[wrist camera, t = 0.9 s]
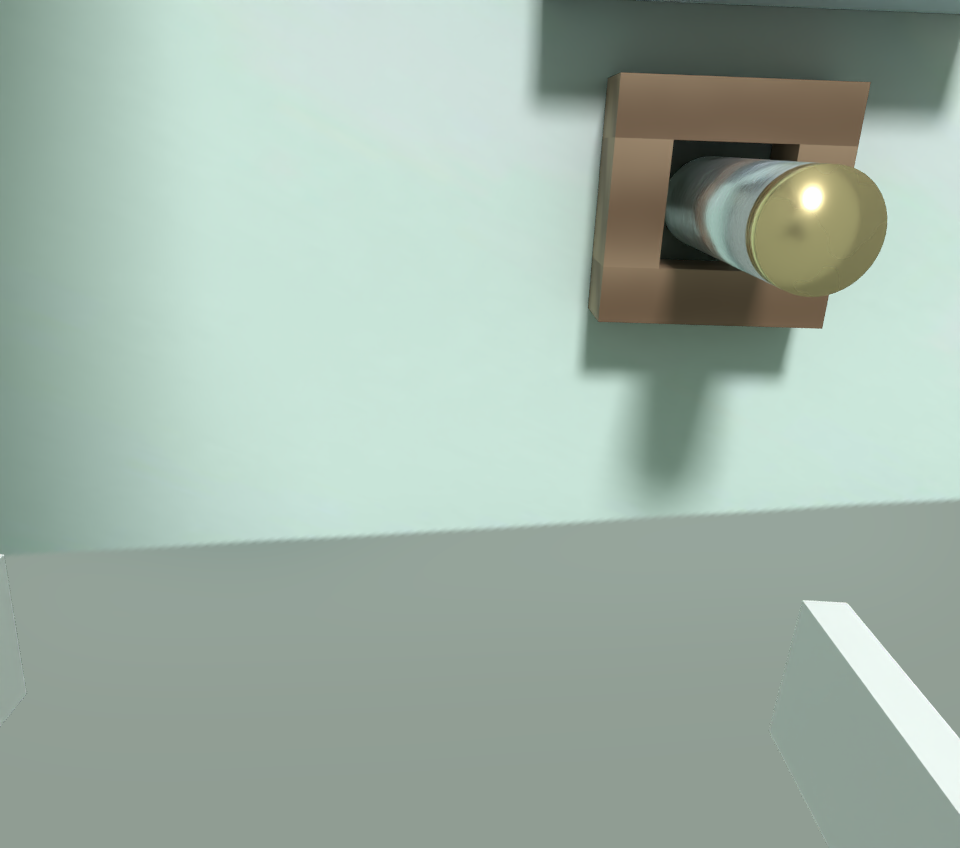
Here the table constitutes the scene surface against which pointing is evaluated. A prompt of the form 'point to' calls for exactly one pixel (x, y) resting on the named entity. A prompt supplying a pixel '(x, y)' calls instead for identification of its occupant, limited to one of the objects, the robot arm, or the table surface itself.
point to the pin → (780, 219)
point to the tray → (848, 4)
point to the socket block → (645, 178)
